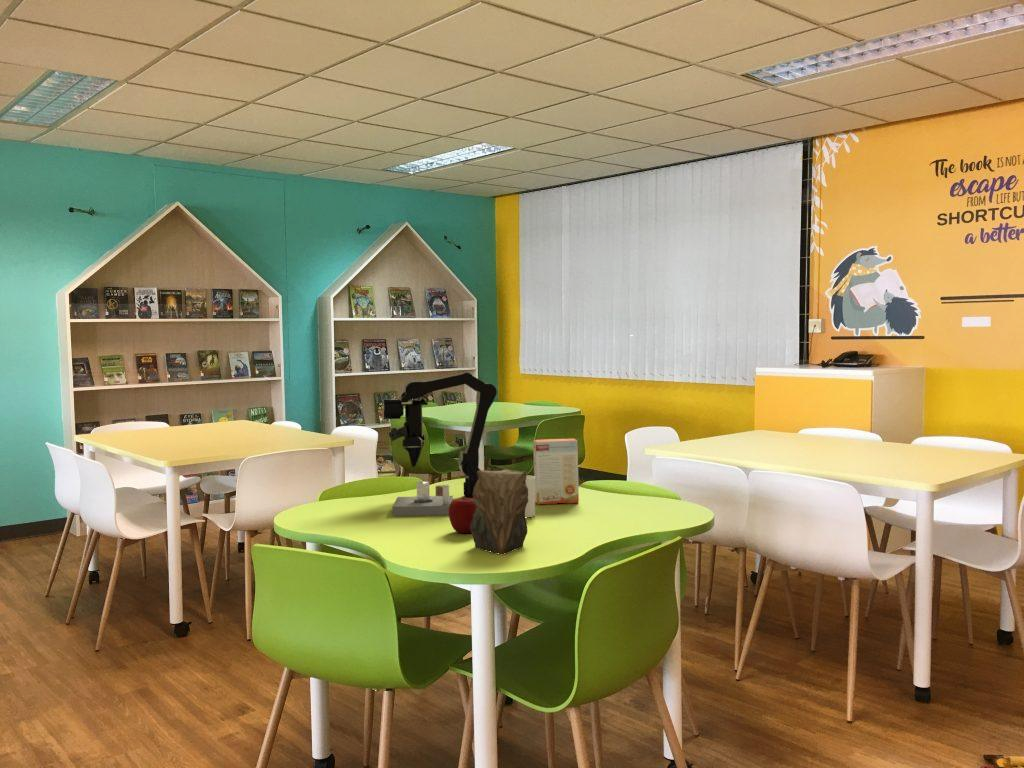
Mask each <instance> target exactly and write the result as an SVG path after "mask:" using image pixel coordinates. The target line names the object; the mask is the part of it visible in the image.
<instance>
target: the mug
mask: <svg viewBox="0 0 1024 768" xmlns="http://www.w3.org/2000/svg"><path fill="white" fill-rule="evenodd" d="M525 482H526V486H527V488H528V503H527V505H526V509H525V517H531V518H534V517H535V515H536V513H535V512H536V502H535V476H534V475H527V474H526V481H525ZM533 516H534V517H533Z"/></svg>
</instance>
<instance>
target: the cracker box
mask: <svg viewBox="0 0 1024 768" xmlns="http://www.w3.org/2000/svg"><path fill="white" fill-rule="evenodd" d="M578 450H579V449H578V440H577V439H576V438H574V437H573V438H553V439H552V438H547V439H545V438H544V439H534V440H533V476H535V504H536V503H537V504H536V505H539V504H545V505H558V504H557V503H567V504H578V503H577V502H580V501H579V500H580V496H579V495H580V494H579V452H578ZM539 506H540V505H539Z"/></svg>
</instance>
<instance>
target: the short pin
mask: <svg viewBox="0 0 1024 768" xmlns="http://www.w3.org/2000/svg"><path fill="white" fill-rule="evenodd" d="M443 485H444V484H440V485H439V484H438V485H436V486H435V488H434V489H435V491H434V492H435V496H443Z"/></svg>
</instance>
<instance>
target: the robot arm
mask: <svg viewBox="0 0 1024 768" xmlns="http://www.w3.org/2000/svg"><path fill="white" fill-rule="evenodd" d="M463 385H466V386H468V387H469V388H470V389H472V390H473V391H474V392H476V397H475V404H476V408H475V412H474V416H473V420H472V425H471V428H470V432H469V436H468V441H467V445H466V448H465V449H464V451H463V450H460V451H459V457H458V459H457V460H456V461H457V464H458V468H459V471H460V472H462V473H463V474H464V476H465V477H464V478H465V479H464V482H463V496H464V498H473V491H474V487H475V485H476V483H477V481H478V475H477V471H479V470H480V471H481V469H480V467H479V462H480V455H479V453H480V452H479V450H480V446H481V441H482V437H483V435H484V430H485V424H486V421H487V416H488V412H489V410H490V408H491V407H492V405H493V404H494V401H495V398H496V396H497V388H496V386H495V385H494V384H492V383H489V382H484V381H482V380H480V378H477V377H476V376H474V375H472V373H470V372H467V371H464V372H462V373H458V374H453V375H448V376H444V377H440V378H439V377H438V378H434V379H430V380H410V381H408V382H407V383H405V385H404V387H403V392H402V393H401V395H400V396H399V398H398V399H388V398H384V399H383V404H382V420H387V421H388V420H400V419H401V417H404V419H405V420H404V423H403V426H399V427H396V426H395V427H392V428H391V429H390V431H388V436H389V438H390V440H391V442H394V441H395V440H397V439H400V438H403V440H402V447H403V449H404V450H405V451H407V452H408V456H409V460H410V464H411V467H412V468H413V467H417V463H418V461H419V459H420V456H421V454H422V451H423V447H424V445H425V443H426V442H425V441H426V434H425V433H424V432H423V429H424V428H423V424H424V421H423V406H427V405H428V404H429V403H428V401H426V400H425V399H424V396H426V395H428V394H430V393H432V392H436V391H439V390H445V389H450V388H453V387H454V388H455V387H459V386H463ZM419 398H420V399H419ZM410 401H411V402H410Z"/></svg>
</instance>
